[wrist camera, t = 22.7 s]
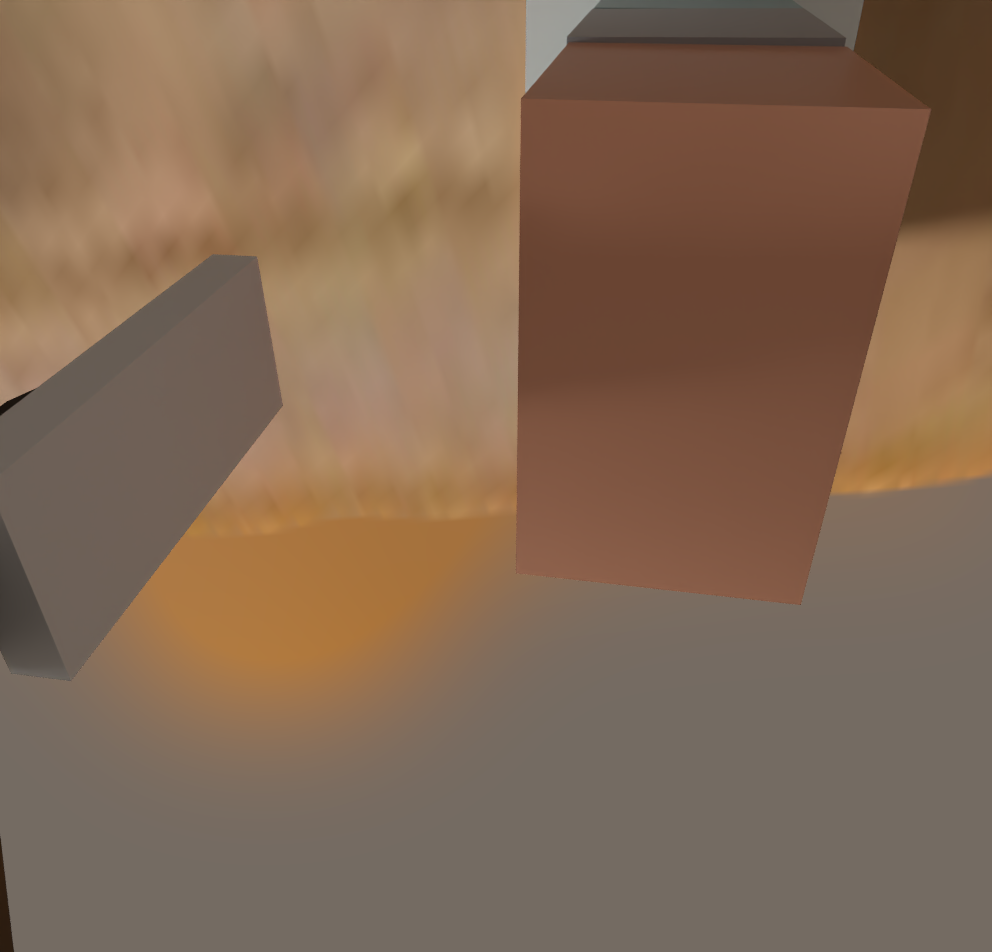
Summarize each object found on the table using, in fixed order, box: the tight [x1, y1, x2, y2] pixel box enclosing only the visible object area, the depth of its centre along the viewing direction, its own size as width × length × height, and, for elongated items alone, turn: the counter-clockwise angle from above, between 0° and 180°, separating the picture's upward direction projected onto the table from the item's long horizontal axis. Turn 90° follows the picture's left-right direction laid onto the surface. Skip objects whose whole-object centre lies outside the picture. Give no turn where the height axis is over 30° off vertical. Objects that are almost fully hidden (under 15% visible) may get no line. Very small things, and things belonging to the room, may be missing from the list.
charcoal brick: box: [567, 8, 846, 47], centre depth 20 cm, size 5×8×6 cm, turn 1°
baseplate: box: [525, 0, 864, 94], centre depth 28 cm, size 10×12×1 cm
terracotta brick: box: [516, 42, 931, 605], centre depth 15 cm, size 5×8×6 cm, turn 0°
